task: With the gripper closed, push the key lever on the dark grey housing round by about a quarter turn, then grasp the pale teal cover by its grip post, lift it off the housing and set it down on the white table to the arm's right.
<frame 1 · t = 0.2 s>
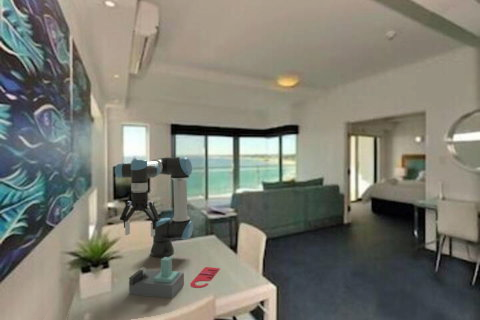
hand: (140, 235, 136), 28 cm above the table, fingers open, 13 cm apart
door hanger: (205, 278, 151), on the table
housing: (157, 289, 139), on the table
key: (137, 276, 134), point 8 cm above the table, hinge at 0.0°
cover: (166, 277, 137), point 6 cm above the table, touching housing
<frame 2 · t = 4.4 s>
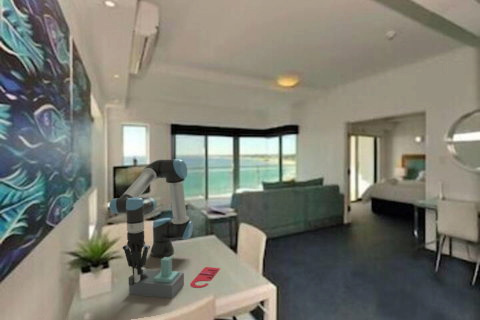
hand: (137, 281, 131), 7 cm above the table, fingers closed
key: (137, 276, 134), point 8 cm above the table, hinge at -2.2°, touching gripper
everything else where it was.
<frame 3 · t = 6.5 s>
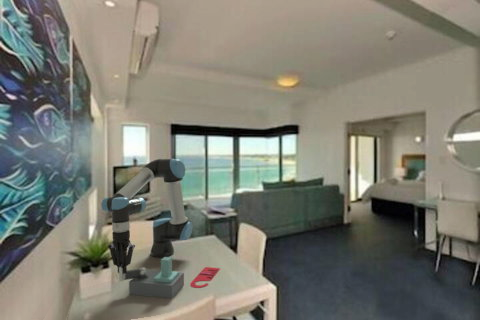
hand: (122, 279, 133), 7 cm above the table, fingers closed
key: (133, 274, 137), point 8 cm above the table, hinge at -57.2°, touching gripper
everything else where it was.
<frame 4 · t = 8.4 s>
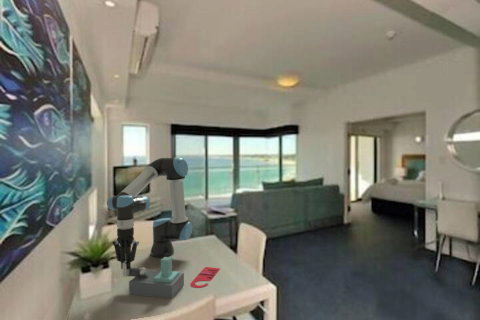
hand: (126, 275, 137), 8 cm above the table, fingers closed, pressing on key
key: (134, 272, 139), point 8 cm above the table, hinge at -86.2°, touching gripper
everything else where it was.
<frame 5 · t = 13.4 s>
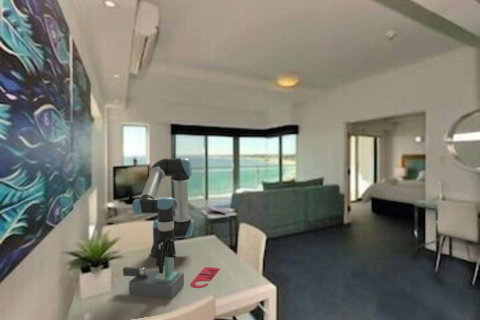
hand: (166, 274, 137), 7 cm above the table, fingers closed on cover, 9 cm apart
key: (134, 272, 139), point 8 cm above the table, hinge at -88.1°
cover: (166, 277, 137), point 6 cm above the table, touching gripper, housing
everything else where it was.
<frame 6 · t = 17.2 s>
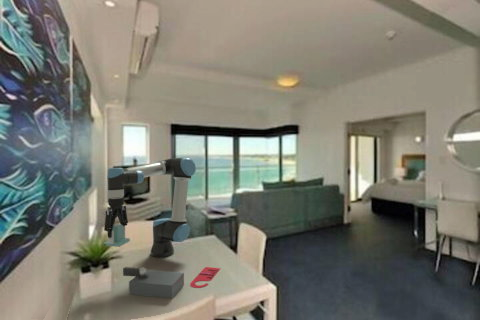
hand: (117, 240, 146), 22 cm above the table, fingers closed on cover, 9 cm apart
cover: (117, 243, 146), point 21 cm above the table, touching gripper
everything else where it was.
when the fingers open (3 cm above the table, at t = 21.1 s): cover drops 2 cm, on the table.
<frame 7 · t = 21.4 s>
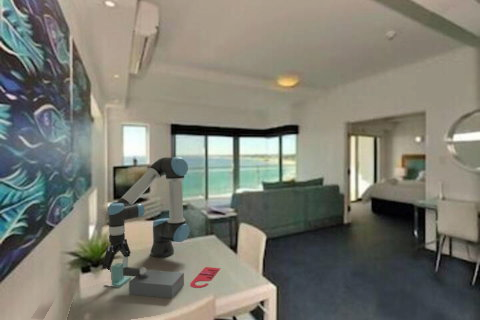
hand: (117, 274, 146), 4 cm above the table, fingers open, 13 cm apart
cover: (117, 282, 146), on the table
everything else where it was.
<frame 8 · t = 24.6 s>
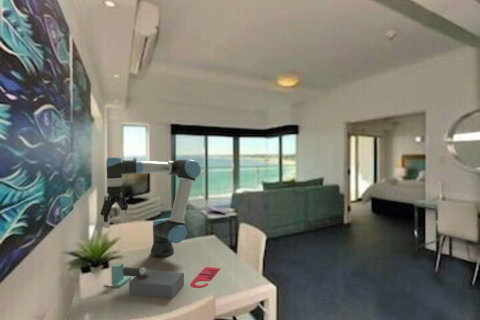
hand: (115, 224, 152), 29 cm above the table, fingers open, 13 cm apart
nothing on the table moved.
at the end: key at -88° (first picture: +0°); cover inside the target area (0.0 cm from its centre), on the table; cover touching table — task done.
